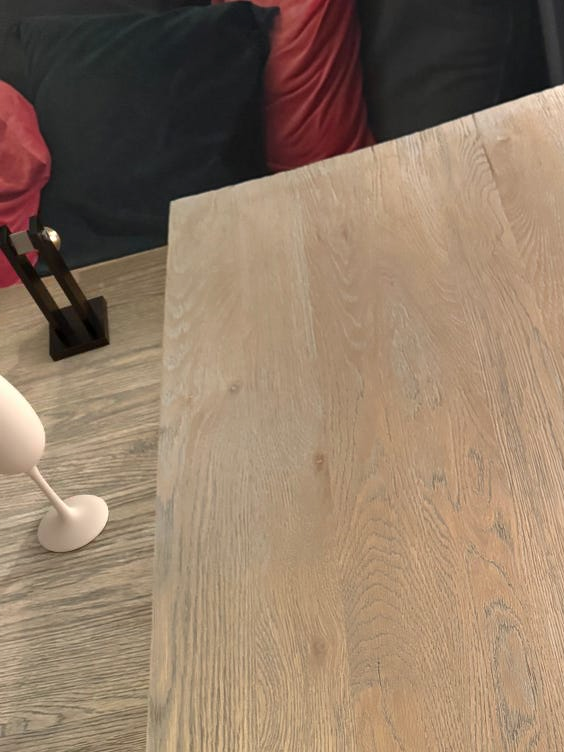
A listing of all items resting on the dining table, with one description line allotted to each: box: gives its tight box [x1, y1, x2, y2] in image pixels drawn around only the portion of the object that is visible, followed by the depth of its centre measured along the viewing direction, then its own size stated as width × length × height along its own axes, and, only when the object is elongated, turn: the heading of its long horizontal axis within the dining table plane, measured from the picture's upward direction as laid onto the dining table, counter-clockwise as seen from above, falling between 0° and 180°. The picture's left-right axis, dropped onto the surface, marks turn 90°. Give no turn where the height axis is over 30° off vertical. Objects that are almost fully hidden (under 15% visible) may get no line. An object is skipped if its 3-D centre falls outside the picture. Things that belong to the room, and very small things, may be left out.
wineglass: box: [0, 374, 109, 553], centre depth 102 cm, size 9×9×21 cm
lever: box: [9, 226, 61, 255], centre depth 125 cm, size 13×4×4 cm, turn 13°
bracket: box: [0, 214, 110, 362], centre depth 126 cm, size 10×8×16 cm
